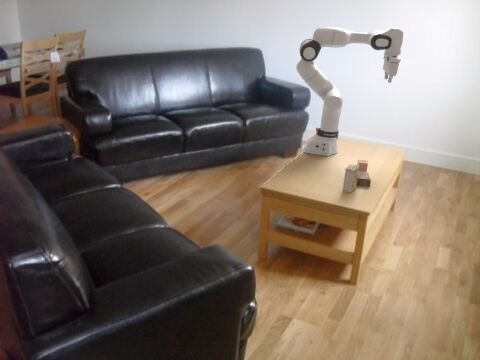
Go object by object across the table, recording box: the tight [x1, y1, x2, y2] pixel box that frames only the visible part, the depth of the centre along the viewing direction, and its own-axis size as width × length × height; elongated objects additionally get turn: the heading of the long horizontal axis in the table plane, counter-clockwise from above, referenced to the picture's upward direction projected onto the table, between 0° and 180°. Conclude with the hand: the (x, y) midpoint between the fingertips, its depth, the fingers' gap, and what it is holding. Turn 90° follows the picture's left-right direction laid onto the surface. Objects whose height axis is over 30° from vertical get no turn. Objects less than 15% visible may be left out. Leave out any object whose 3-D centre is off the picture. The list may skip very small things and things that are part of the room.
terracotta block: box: [356, 159, 369, 172], centre depth 276 cm, size 5×5×7 cm
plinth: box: [356, 171, 372, 187], centre depth 265 cm, size 11×11×4 cm
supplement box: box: [342, 163, 359, 194], centre depth 253 cm, size 8×5×13 cm, turn 148°
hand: (387, 80), depth 286 cm, fingers open, 8 cm apart
